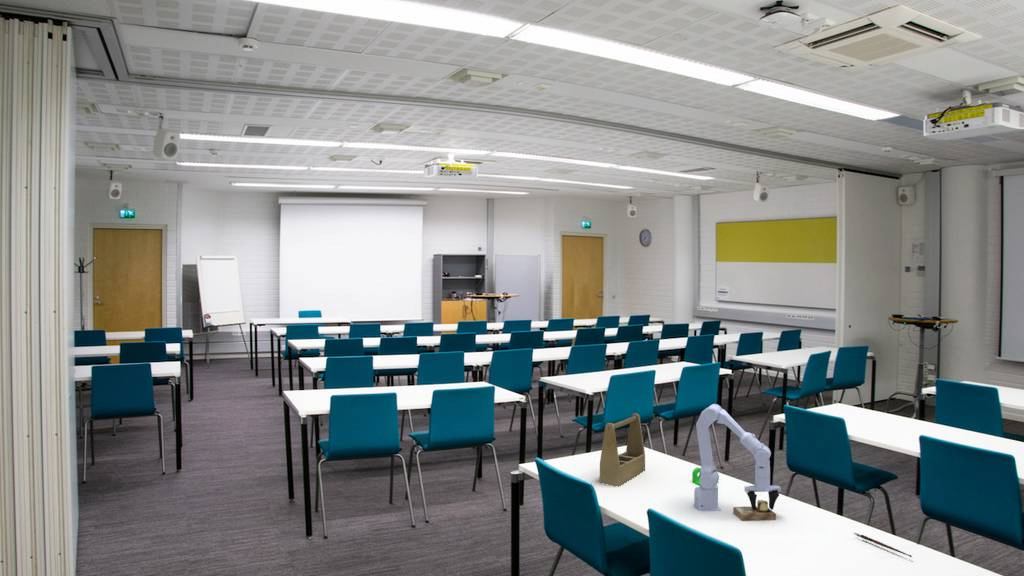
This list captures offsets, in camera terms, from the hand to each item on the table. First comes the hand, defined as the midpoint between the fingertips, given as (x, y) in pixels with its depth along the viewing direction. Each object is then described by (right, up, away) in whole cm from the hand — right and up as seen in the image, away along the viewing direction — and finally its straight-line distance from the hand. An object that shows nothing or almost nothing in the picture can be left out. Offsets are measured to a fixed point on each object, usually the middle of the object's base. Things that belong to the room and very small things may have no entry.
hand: (762, 509), depth 274 cm
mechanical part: (-11, -3, +42) cm, 43 cm away
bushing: (0, -3, 0) cm, 3 cm away
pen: (+33, -3, -20) cm, 39 cm away
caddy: (-49, -3, +52) cm, 71 cm away
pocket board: (-4, -3, 0) cm, 5 cm away
